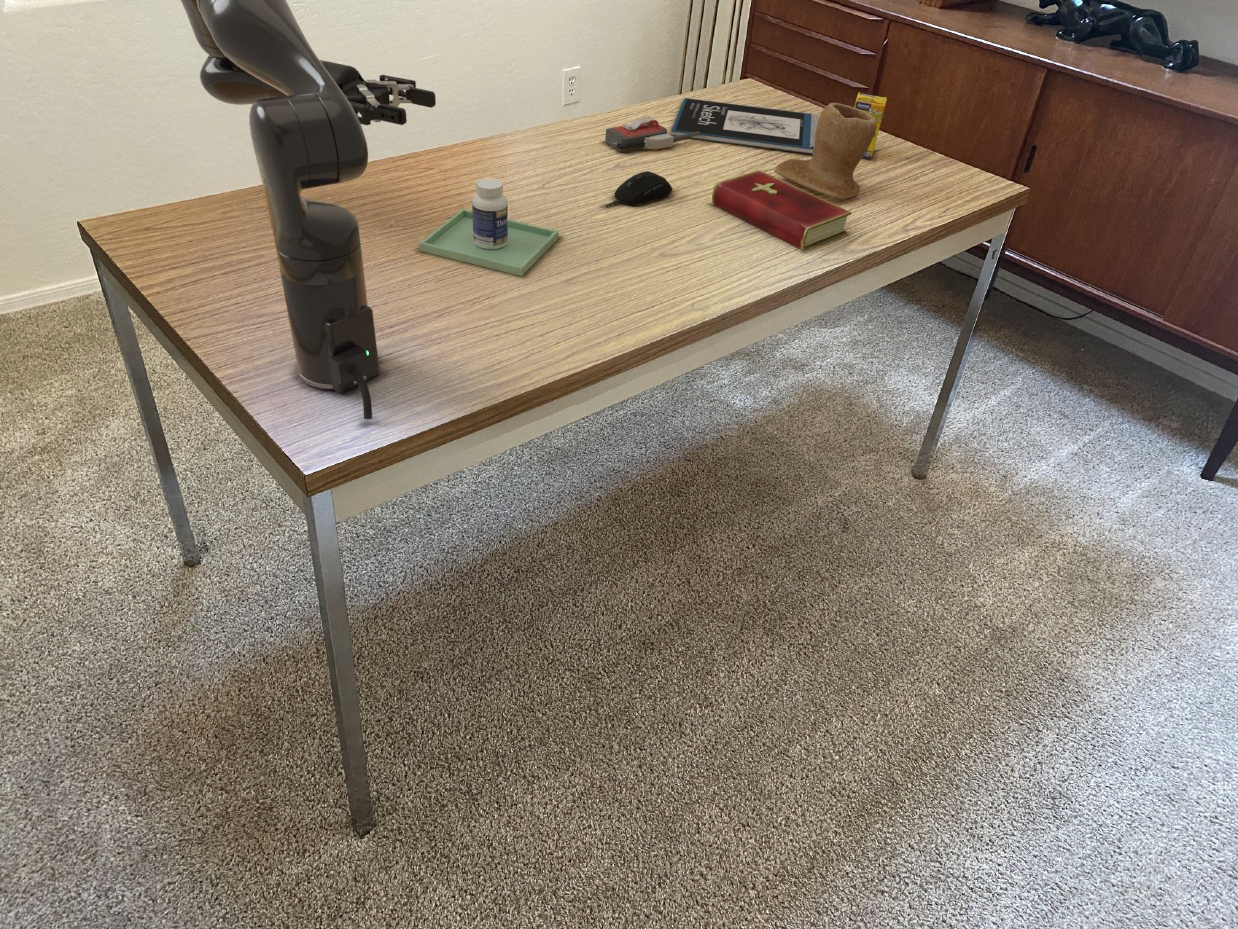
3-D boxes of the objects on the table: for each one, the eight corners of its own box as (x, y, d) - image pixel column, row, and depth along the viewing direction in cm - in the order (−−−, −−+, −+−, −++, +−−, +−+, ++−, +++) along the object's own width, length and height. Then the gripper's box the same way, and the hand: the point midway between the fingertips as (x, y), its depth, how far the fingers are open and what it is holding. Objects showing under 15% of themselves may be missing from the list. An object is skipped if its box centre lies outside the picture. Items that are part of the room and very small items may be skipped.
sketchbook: (683, 103, 201) (684, 94, 199) (817, 122, 198) (819, 112, 197) (670, 136, 184) (671, 125, 183) (816, 156, 182) (819, 146, 180)
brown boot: (872, 193, 169) (894, 112, 159) (835, 208, 162) (856, 125, 153) (808, 167, 177) (825, 88, 167) (770, 180, 170) (786, 99, 160)
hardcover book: (801, 251, 148) (807, 227, 145) (710, 205, 159) (714, 182, 157) (846, 233, 154) (851, 210, 152) (755, 190, 166) (759, 168, 163)
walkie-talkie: (624, 158, 173) (702, 142, 183) (626, 135, 170) (705, 120, 180) (597, 143, 178) (675, 127, 188) (599, 120, 175) (677, 106, 185)
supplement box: (841, 155, 183) (854, 100, 176) (844, 145, 188) (857, 91, 181) (871, 160, 182) (885, 105, 175) (873, 150, 187) (887, 96, 180)
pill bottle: (501, 252, 139) (501, 192, 133) (468, 247, 139) (466, 187, 133) (512, 238, 143) (512, 179, 137) (479, 232, 144) (478, 173, 137)
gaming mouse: (594, 200, 157) (595, 178, 154) (654, 182, 165) (656, 161, 163) (618, 213, 154) (620, 191, 151) (678, 194, 162) (681, 172, 159)
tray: (558, 238, 145) (558, 230, 144) (521, 276, 134) (521, 268, 133) (462, 215, 148) (462, 208, 148) (419, 250, 138) (419, 242, 137)
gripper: (291, 74, 127) (392, 95, 124) (348, 49, 138) (442, 68, 134) (299, 127, 132) (397, 149, 129) (353, 99, 143) (444, 119, 139)
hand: (420, 108), depth 132 cm, fingers open, 8 cm apart
